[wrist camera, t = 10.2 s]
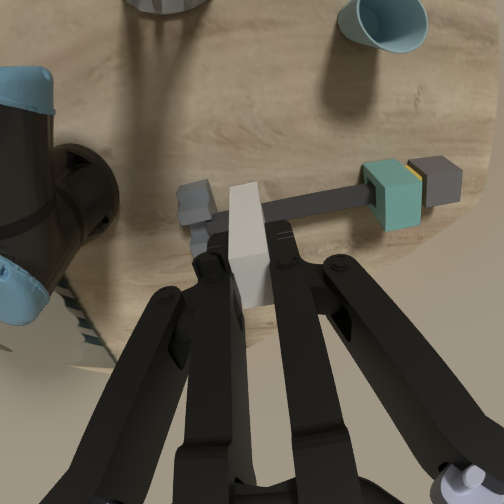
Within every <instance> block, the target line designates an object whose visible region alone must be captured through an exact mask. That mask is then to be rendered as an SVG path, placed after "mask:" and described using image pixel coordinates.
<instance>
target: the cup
mask: <svg viewBox="0 0 504 504" xmlns="http://www.w3.org/2000/svg"><path fill="white" fill-rule="evenodd" d="M337 22H338V26H339V29H340V31H341V32H342V33H343V34H344V36H345V37H346V38H348V39H350V40H352V41H354V42H356V43H360V44H364V45H368V46H371V47H375V48H379V49H382V50H385V51H389V52H392V53H408V52H411V51H414V50H415V49H417V48H418V47H419V46H420V45H421V44H422V43H423V42H424V40H425V38H426V36H427V32H428V18H427V14H426V11H425V9H424V7H423V5H422V3H421V2H420V0H351V1H350V2H349V3H347V4H346V5H345V6H344V7H343V8H342V9H341V10H340V12H339V14H338V19H337Z"/></svg>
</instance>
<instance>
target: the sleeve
mask: <svg viewBox="0 0 504 504" xmlns="http://www.w3.org/2000/svg"><path fill="white" fill-rule="evenodd" d="M363 175H364V184H366V183H373V185H374V186H375V187H376V203H373V204H367V206H368V207H369V209H370V210H371V211H372V213H373V214H374V216H375V217H376V219H377V220H378V222H379V223H380V225H381V226H382V228H383V229H384V231H385V232H388V231H393V230H397V229H402V228H407V227H412V226H417V225H420V219H421V202H422V181H421V180H420V179H418V178H417V177H416V176H415V175H414V174H413V173H412V172H411V171H409V170H408V169H407V168H406V167H405V166H404V165H402V164H401V163H400V162H399V161H398V160H396V159H390V160H383V161H376V162H370V163H363Z"/></svg>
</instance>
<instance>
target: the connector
mask: <svg viewBox="0 0 504 504" xmlns="http://www.w3.org/2000/svg"><path fill="white" fill-rule="evenodd" d="M408 166H409V167H411V168H412V169H413V170H414V171H415V172H416V173H418V174H419V175H420V176H421V177H422V181H423V192H422V202H421V203H422V204H423V205H424V206H425V207H426V208H427V207H433V206H438V205H443V204H449V203H454V202H460V196H461V185H462V172H463V170H462V169H460V168H459V167H458V166H456V165H455V164H453V163H452V162H450V161H449V160H448V159H446V158H445V157H443V156H433V157H425V158H418V159H410V160H408Z"/></svg>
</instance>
